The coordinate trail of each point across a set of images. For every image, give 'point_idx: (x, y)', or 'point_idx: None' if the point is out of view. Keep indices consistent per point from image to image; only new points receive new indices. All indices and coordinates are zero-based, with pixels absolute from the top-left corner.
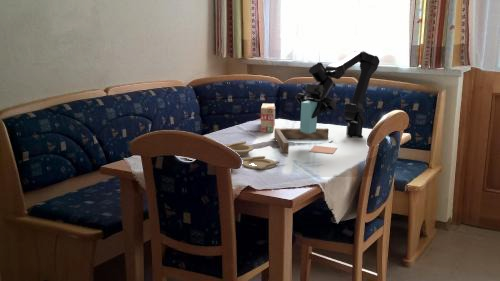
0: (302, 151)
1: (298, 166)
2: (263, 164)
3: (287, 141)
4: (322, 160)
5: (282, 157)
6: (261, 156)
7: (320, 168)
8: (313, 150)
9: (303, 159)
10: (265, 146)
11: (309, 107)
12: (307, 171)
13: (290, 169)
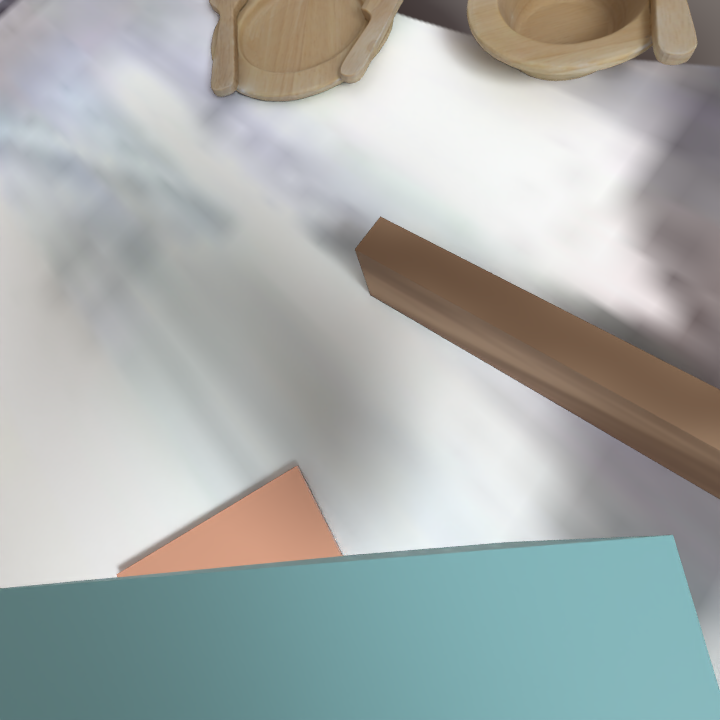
0: (343, 427)
1: (135, 171)
2: (287, 49)
3: (402, 273)
4: (94, 365)
5: (321, 203)
6: (357, 58)
7: (27, 240)
8: (284, 510)
9: (197, 281)
10: (668, 283)
11: (144, 575)
12: (55, 157)
13: (136, 112)
